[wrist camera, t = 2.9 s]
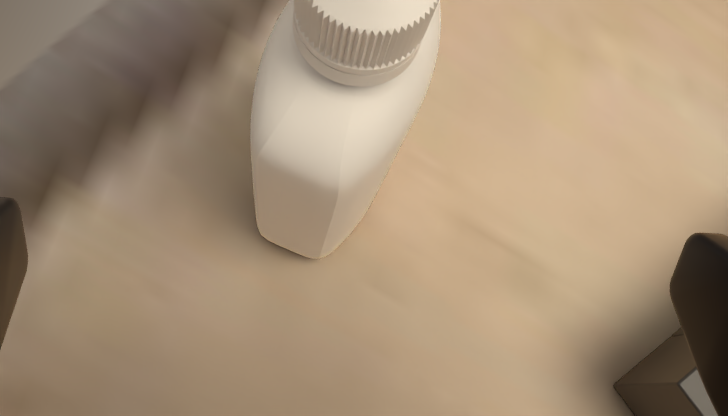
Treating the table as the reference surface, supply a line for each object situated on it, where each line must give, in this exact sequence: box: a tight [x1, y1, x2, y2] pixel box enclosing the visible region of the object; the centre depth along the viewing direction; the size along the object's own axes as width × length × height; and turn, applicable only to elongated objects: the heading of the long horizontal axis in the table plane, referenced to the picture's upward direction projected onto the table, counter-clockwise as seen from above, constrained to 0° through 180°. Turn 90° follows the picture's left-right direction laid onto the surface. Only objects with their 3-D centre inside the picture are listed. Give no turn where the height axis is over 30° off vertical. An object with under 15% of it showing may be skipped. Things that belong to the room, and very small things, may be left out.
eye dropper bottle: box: [250, 0, 441, 259], centre depth 16 cm, size 4×6×12 cm
